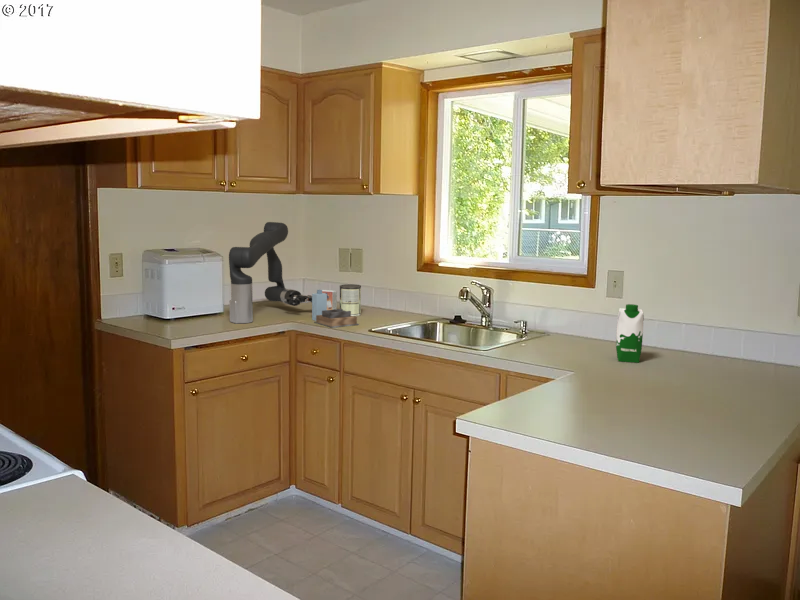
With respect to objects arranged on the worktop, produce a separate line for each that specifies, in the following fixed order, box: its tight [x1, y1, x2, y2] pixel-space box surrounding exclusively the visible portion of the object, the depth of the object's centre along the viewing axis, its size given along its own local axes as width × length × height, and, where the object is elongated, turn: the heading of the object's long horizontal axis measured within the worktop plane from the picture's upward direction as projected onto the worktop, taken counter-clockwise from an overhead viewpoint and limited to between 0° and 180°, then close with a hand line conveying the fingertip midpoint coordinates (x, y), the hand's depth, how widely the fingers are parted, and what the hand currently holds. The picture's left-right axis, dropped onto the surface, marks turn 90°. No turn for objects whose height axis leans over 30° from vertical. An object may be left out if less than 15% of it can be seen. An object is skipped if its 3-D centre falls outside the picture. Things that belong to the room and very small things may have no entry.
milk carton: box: [615, 303, 645, 364], centre depth 244 cm, size 9×9×20 cm
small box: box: [321, 289, 338, 310], centre depth 339 cm, size 8×6×10 cm
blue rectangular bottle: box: [311, 289, 327, 322], centre depth 316 cm, size 5×4×14 cm
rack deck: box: [313, 308, 360, 329], centre depth 307 cm, size 14×15×6 cm
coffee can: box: [339, 283, 362, 317], centre depth 332 cm, size 10×10×14 cm
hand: (307, 301), depth 325 cm, fingers open, 8 cm apart
